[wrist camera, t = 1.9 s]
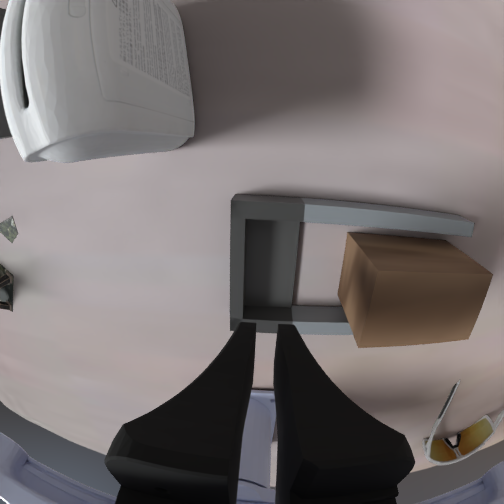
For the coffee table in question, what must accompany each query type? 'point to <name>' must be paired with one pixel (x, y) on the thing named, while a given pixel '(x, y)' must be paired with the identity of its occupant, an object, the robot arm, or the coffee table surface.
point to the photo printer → (95, 78)
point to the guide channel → (285, 254)
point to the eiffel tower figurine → (3, 279)
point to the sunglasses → (459, 438)
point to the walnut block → (409, 290)
